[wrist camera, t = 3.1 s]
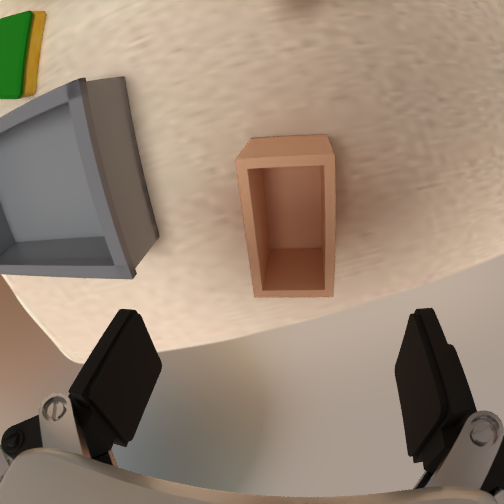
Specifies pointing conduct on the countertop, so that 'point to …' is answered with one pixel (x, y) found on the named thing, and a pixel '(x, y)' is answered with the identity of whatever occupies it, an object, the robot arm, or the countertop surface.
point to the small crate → (289, 214)
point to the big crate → (73, 185)
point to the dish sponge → (20, 53)
